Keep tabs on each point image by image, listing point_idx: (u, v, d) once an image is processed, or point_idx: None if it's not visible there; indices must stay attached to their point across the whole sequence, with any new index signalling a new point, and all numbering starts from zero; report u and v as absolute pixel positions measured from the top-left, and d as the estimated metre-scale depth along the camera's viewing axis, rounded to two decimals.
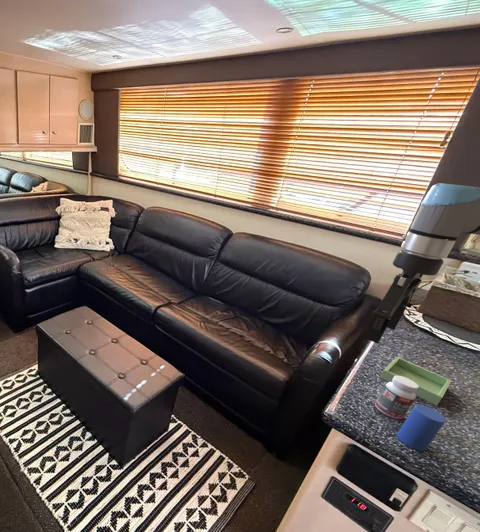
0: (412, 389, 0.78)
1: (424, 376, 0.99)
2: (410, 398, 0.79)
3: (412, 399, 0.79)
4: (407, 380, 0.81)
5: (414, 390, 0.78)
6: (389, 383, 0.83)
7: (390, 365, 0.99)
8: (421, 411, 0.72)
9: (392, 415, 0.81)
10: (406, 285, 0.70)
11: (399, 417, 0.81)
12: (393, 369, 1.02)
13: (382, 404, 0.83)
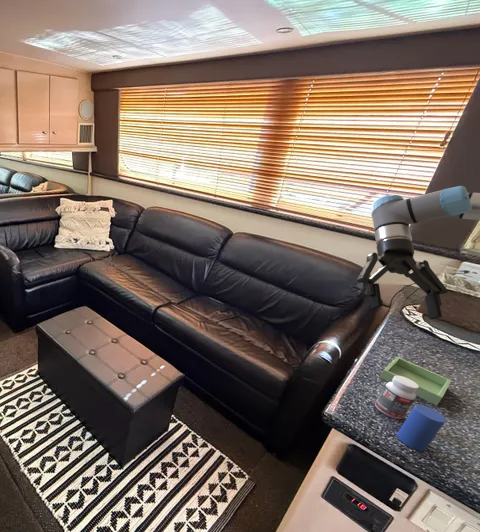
0: (412, 389, 0.78)
1: (424, 376, 0.99)
2: (410, 398, 0.79)
3: (412, 399, 0.79)
4: (407, 380, 0.81)
5: (414, 390, 0.78)
6: (389, 383, 0.83)
7: (390, 365, 0.99)
8: (421, 411, 0.72)
9: (392, 415, 0.81)
10: (372, 256, 0.90)
11: (399, 417, 0.81)
12: (393, 369, 1.02)
13: (382, 404, 0.83)
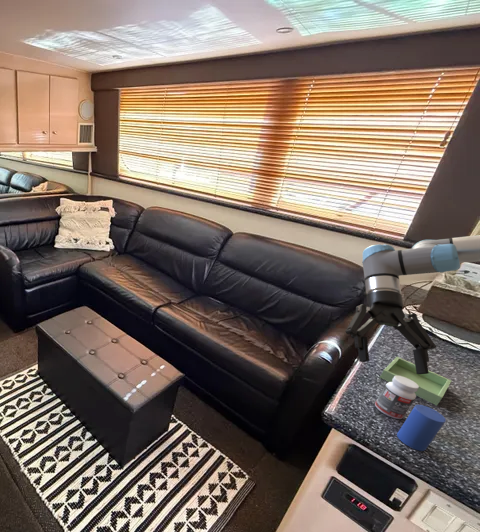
0: (412, 389, 0.78)
1: (424, 376, 0.99)
2: (410, 398, 0.79)
3: (412, 399, 0.79)
4: (407, 380, 0.81)
5: (414, 390, 0.78)
6: (389, 383, 0.83)
7: (390, 365, 0.99)
8: (421, 411, 0.72)
9: (392, 415, 0.81)
10: (361, 308, 0.91)
11: (399, 417, 0.81)
12: (393, 369, 1.02)
13: (382, 404, 0.83)
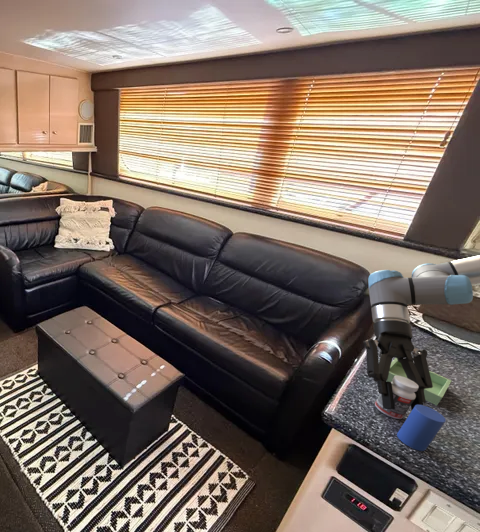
0: (412, 389, 0.78)
1: None
2: (410, 398, 0.79)
3: (412, 399, 0.79)
4: (407, 380, 0.81)
5: (414, 390, 0.78)
6: None
7: None
8: (421, 411, 0.72)
9: (392, 415, 0.81)
10: (371, 344, 0.86)
11: (399, 417, 0.81)
12: (393, 369, 1.02)
13: (382, 404, 0.83)
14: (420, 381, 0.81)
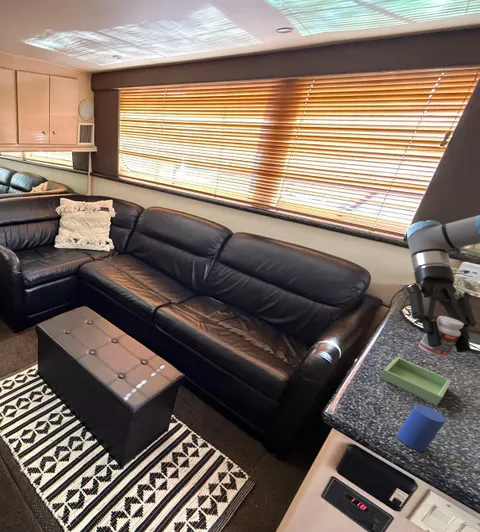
0: (458, 326, 0.83)
1: (424, 376, 0.99)
2: (456, 334, 0.83)
3: (457, 336, 0.83)
4: (451, 319, 0.85)
5: (460, 327, 0.83)
6: None
7: (390, 365, 0.99)
8: (421, 411, 0.72)
9: (437, 353, 0.86)
10: (414, 289, 0.90)
11: (444, 354, 0.85)
12: (393, 369, 1.02)
13: (427, 343, 0.87)
14: (464, 320, 0.85)
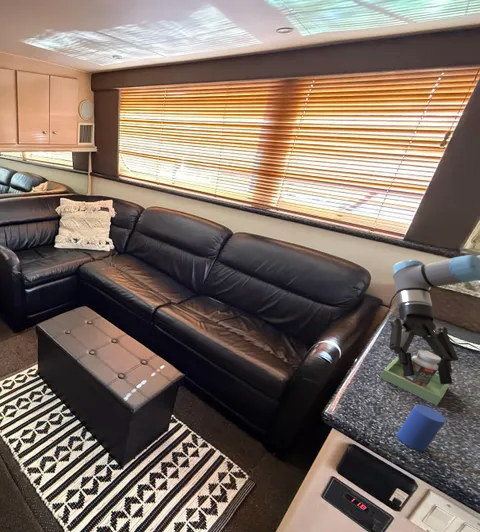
0: (435, 360, 0.91)
1: None
2: (433, 368, 0.92)
3: (435, 369, 0.92)
4: (430, 354, 0.93)
5: (437, 361, 0.91)
6: (414, 357, 0.95)
7: (390, 365, 0.99)
8: (421, 411, 0.72)
9: (417, 384, 0.94)
10: (396, 323, 0.99)
11: (423, 385, 0.94)
12: (393, 369, 1.02)
13: None
14: (446, 354, 0.94)
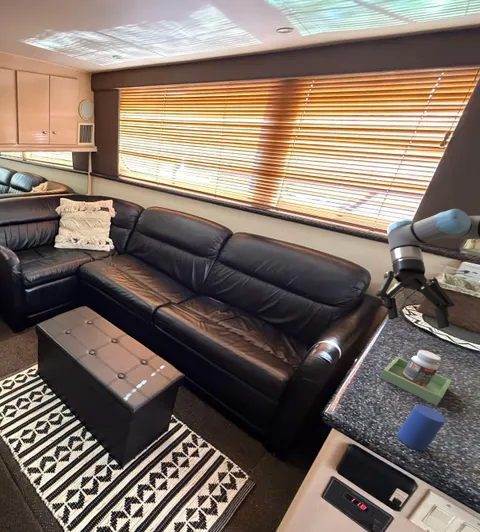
0: (435, 360, 0.91)
1: None
2: (433, 368, 0.92)
3: (435, 369, 0.92)
4: (430, 354, 0.93)
5: (437, 361, 0.91)
6: (414, 357, 0.95)
7: (390, 365, 0.99)
8: (421, 411, 0.72)
9: (417, 384, 0.94)
10: (389, 274, 1.06)
11: (423, 385, 0.94)
12: (393, 369, 1.02)
13: (408, 375, 0.96)
14: (443, 301, 1.00)
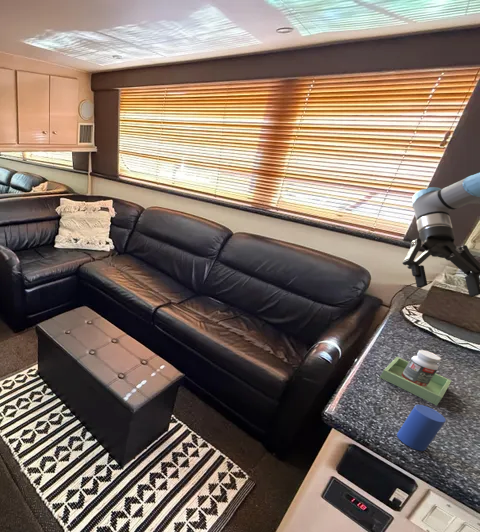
0: (435, 360, 0.91)
1: None
2: (433, 368, 0.92)
3: (435, 369, 0.92)
4: (430, 354, 0.93)
5: (437, 361, 0.91)
6: (414, 357, 0.95)
7: (390, 365, 0.99)
8: (421, 411, 0.72)
9: (417, 384, 0.94)
10: (416, 242, 1.01)
11: (423, 385, 0.94)
12: (393, 369, 1.02)
13: (408, 375, 0.96)
14: (474, 269, 0.96)
